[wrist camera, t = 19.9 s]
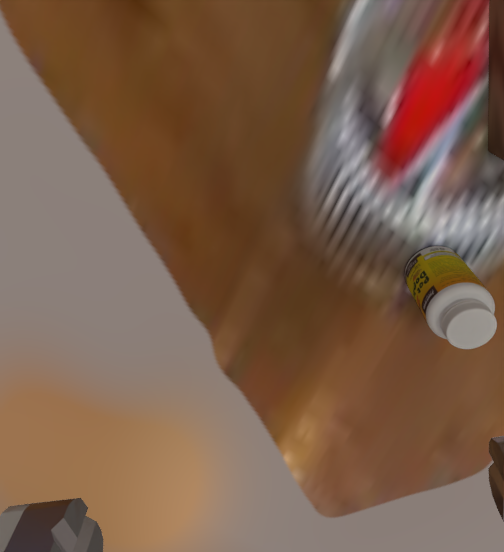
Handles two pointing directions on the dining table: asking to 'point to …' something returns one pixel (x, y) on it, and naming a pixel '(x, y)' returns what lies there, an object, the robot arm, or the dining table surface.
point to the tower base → (496, 79)
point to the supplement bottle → (451, 297)
